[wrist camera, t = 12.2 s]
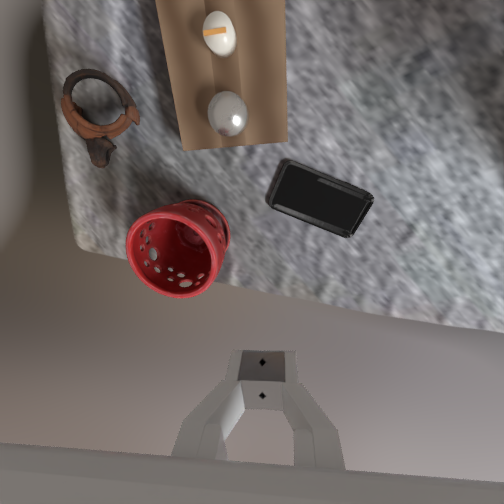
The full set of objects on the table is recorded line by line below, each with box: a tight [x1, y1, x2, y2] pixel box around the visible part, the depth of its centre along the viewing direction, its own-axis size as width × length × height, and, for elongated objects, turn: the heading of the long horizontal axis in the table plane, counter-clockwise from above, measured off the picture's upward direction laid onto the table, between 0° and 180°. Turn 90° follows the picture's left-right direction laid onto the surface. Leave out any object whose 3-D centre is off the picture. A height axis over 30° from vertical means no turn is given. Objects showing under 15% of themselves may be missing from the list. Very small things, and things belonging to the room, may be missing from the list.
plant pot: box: [126, 199, 230, 298], centre depth 38 cm, size 13×13×12 cm
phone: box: [269, 161, 374, 238], centre depth 38 cm, size 8×1×15 cm
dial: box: [203, 11, 237, 58], centre depth 26 cm, size 3×3×3 cm
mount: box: [155, 0, 288, 151], centre depth 29 cm, size 14×22×5 cm, turn 5°
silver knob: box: [208, 91, 249, 136], centre depth 31 cm, size 5×5×7 cm
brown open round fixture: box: [61, 69, 140, 168], centre depth 35 cm, size 12×10×8 cm
